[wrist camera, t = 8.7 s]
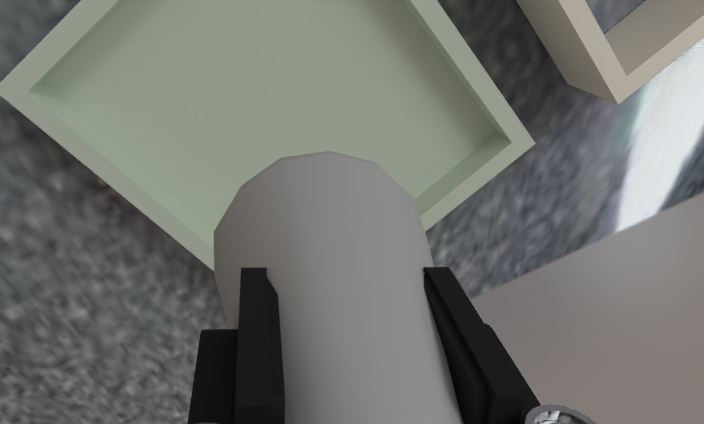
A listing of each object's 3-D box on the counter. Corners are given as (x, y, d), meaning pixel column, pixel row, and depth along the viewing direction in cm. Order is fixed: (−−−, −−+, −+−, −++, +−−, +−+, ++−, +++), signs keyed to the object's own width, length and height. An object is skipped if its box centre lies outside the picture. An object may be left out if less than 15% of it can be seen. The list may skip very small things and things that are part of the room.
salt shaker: (178, 226, 16) (-11, 890, 5) (307, 85, 15) (477, 510, 4) (318, 324, 19) (423, 926, 7) (439, 209, 18) (800, 705, 6)
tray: (286, -194, 24) (290, -213, 22) (512, 128, 33) (535, 143, 30) (19, 76, 27) (-7, 89, 24) (290, 308, 35) (293, 336, 33)
